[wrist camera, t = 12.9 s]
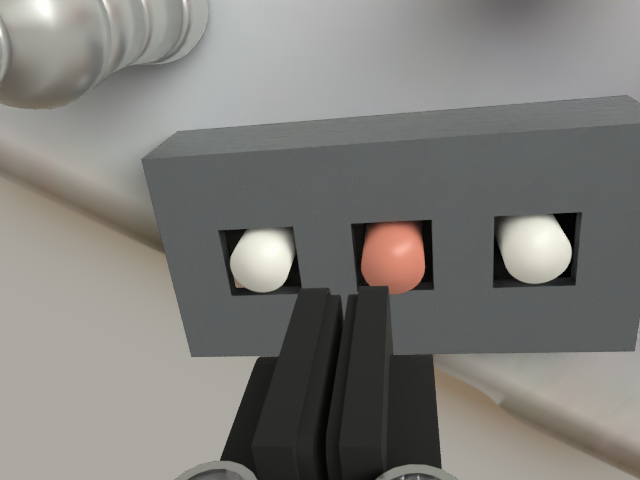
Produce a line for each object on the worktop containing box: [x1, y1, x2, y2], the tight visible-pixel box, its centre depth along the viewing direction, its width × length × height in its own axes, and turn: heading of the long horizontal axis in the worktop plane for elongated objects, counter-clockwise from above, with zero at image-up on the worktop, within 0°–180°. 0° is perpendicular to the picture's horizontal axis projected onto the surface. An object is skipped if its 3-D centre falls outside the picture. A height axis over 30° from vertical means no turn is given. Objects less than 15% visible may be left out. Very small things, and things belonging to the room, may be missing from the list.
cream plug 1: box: [230, 227, 297, 292], centre depth 37 cm, size 4×4×6 cm
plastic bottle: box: [0, 0, 209, 109], centre depth 26 cm, size 6×7×20 cm
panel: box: [141, 95, 640, 357], centre depth 36 cm, size 28×14×6 cm, turn 96°
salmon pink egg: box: [361, 220, 425, 294], centre depth 35 cm, size 4×4×6 cm
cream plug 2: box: [494, 214, 572, 284], centre depth 35 cm, size 4×4×6 cm
